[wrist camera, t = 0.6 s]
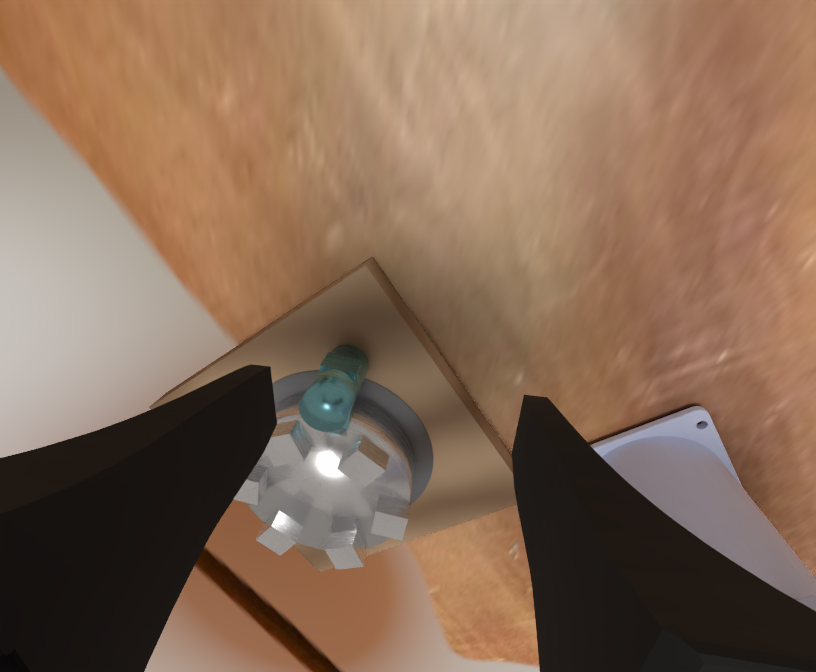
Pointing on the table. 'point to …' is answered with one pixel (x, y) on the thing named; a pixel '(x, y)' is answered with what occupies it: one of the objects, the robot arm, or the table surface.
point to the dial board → (385, 397)
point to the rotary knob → (332, 469)
